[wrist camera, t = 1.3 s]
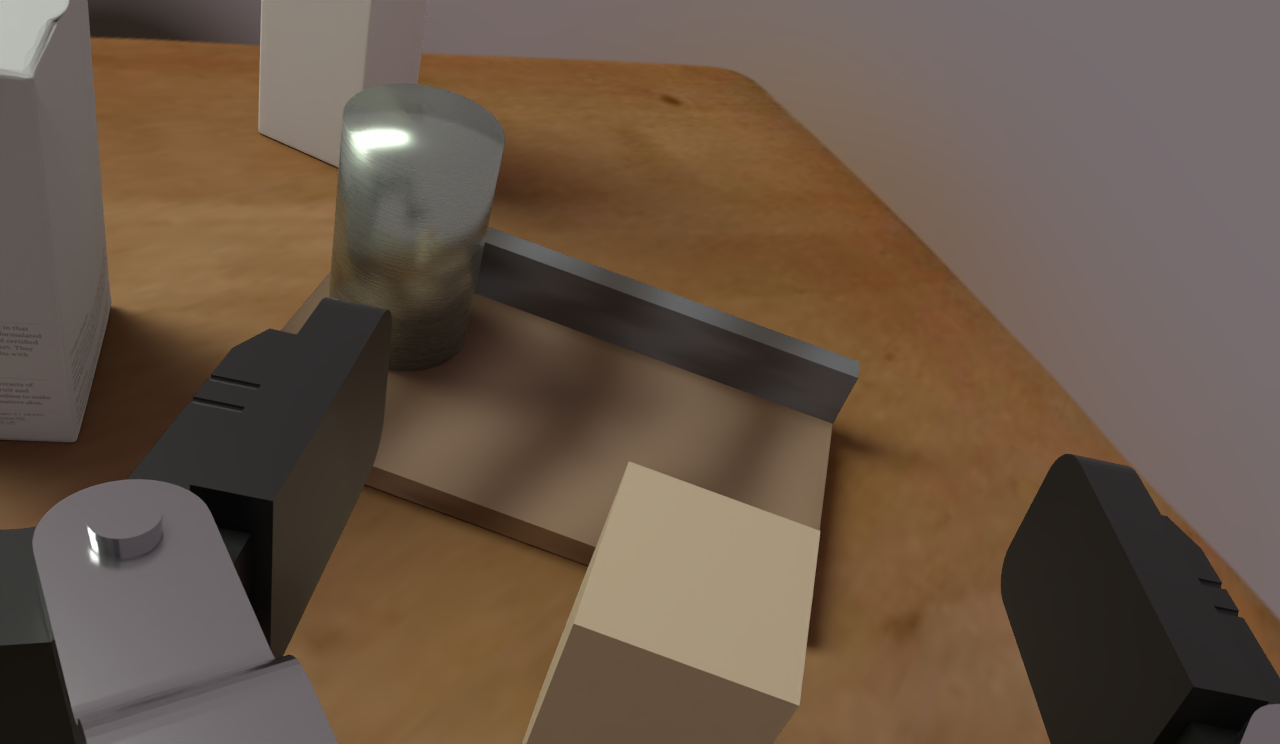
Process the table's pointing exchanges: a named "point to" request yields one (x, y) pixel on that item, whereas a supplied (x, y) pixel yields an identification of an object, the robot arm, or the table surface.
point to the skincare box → (49, 221)
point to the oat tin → (414, 213)
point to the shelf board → (601, 403)
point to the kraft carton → (682, 623)
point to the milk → (331, 64)
